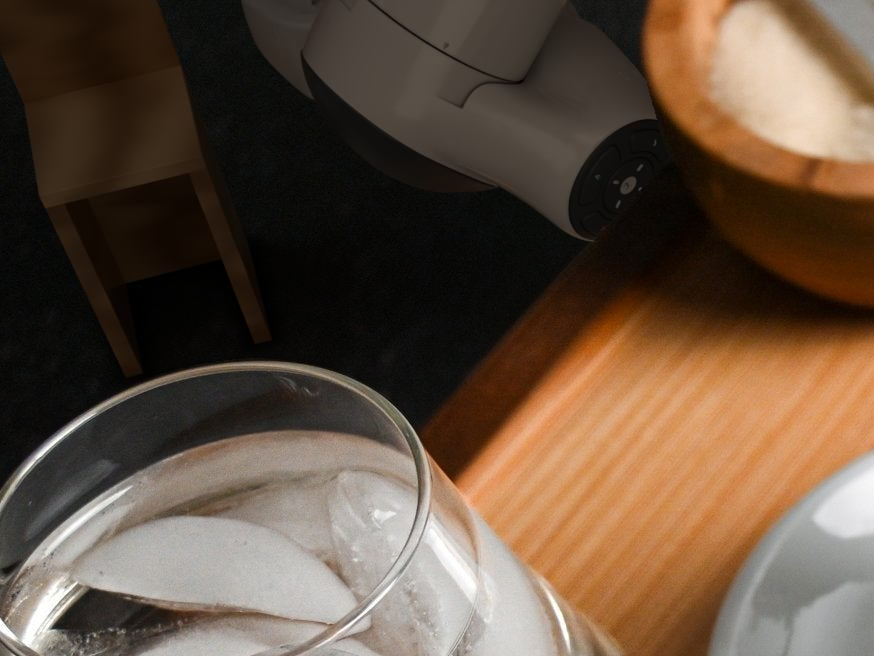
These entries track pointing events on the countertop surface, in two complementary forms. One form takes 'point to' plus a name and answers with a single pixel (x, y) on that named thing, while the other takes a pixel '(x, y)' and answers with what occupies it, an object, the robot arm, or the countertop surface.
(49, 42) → the wooden chair
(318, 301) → the countertop surface
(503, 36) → the robot arm
